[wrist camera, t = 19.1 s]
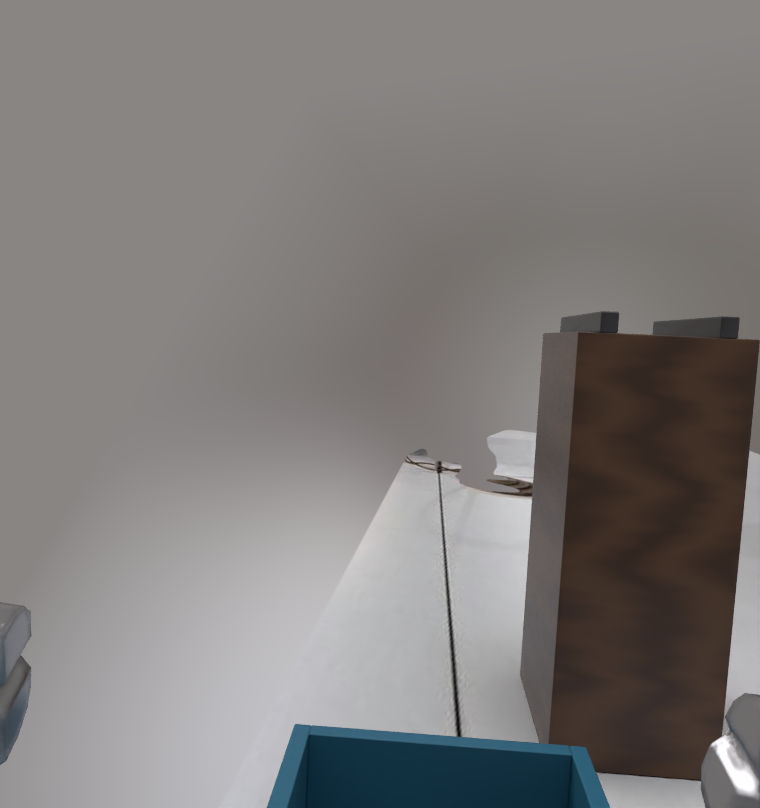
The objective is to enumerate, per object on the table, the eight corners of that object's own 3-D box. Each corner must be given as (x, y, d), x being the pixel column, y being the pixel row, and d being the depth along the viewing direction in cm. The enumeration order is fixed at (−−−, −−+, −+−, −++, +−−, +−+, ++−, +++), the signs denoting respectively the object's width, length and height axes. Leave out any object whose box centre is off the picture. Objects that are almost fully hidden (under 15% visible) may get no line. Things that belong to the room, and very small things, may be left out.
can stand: (546, 768, 43) (580, 310, 40) (520, 674, 55) (544, 316, 52) (717, 781, 42) (762, 318, 40) (653, 684, 54) (684, 323, 52)
